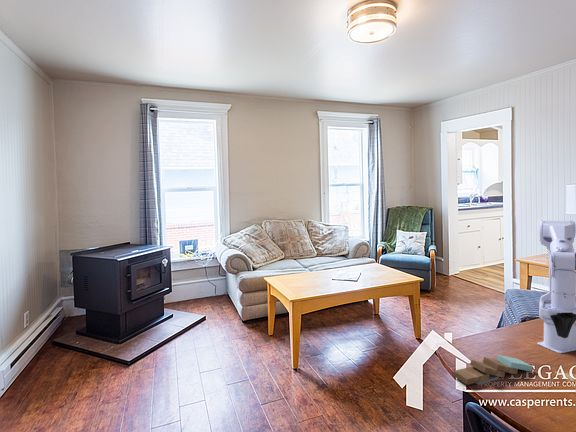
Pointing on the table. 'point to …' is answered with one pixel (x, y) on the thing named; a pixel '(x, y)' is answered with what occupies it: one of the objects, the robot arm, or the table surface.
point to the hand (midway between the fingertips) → (562, 336)
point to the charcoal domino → (491, 378)
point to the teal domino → (514, 363)
